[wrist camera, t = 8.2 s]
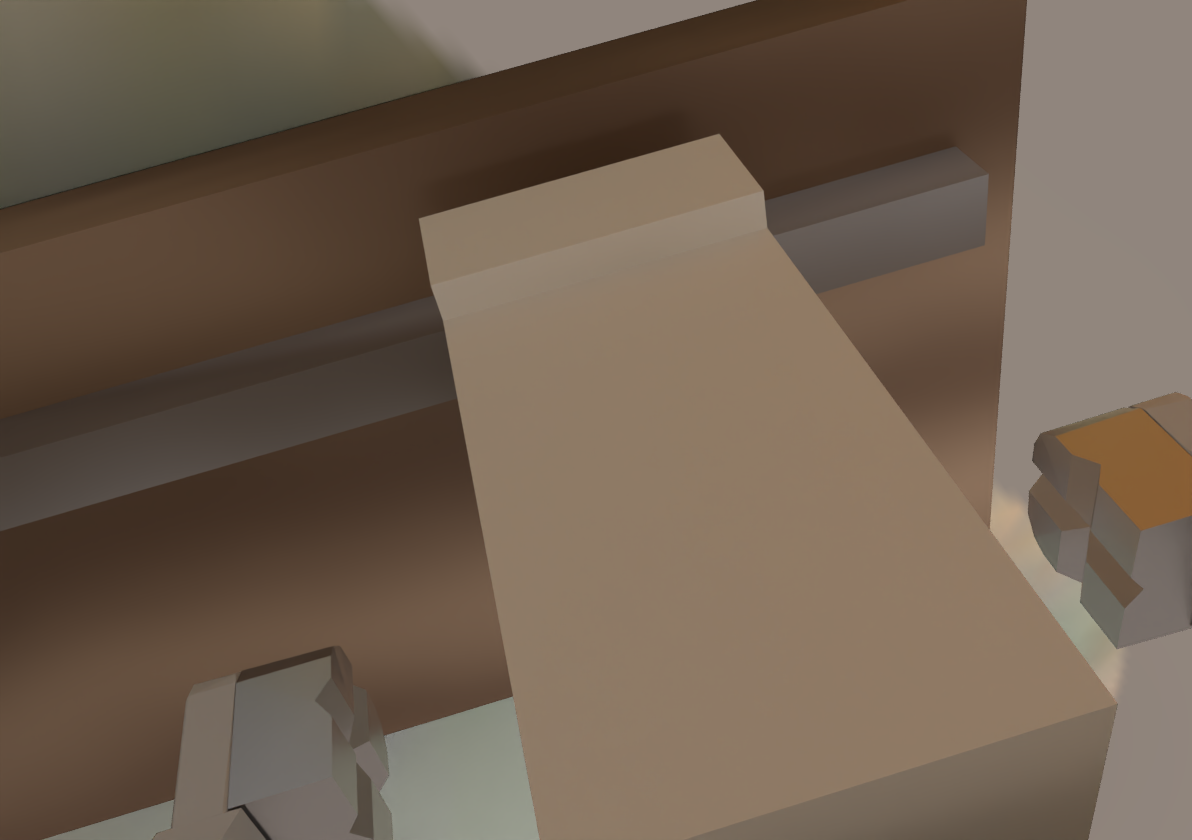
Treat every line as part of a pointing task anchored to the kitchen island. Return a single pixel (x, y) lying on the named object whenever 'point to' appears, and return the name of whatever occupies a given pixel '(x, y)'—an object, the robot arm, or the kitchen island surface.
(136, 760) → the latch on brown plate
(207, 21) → the kitchen island surface
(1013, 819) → the block
